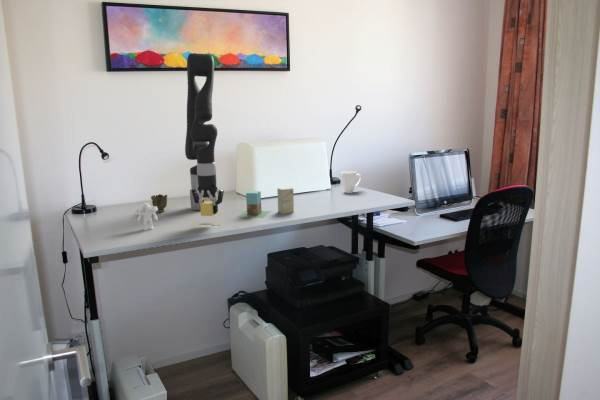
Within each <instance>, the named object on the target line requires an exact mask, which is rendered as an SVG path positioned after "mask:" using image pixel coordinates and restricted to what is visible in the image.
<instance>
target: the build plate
mask: <svg viewBox="0 0 600 400" xmlns="http://www.w3.org/2000/svg"><path fill="white" fill-rule="evenodd" d="M261 211H262V213H261V214H259V215H247V209H246V210H245V211H244V212H242V213H240V214H239V215H237V218H257V219H258V218H259V219H264V218H265V217H266V216H267V215H269V214H270V213H271V212H272V210H271V211H270V210H261Z"/></svg>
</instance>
